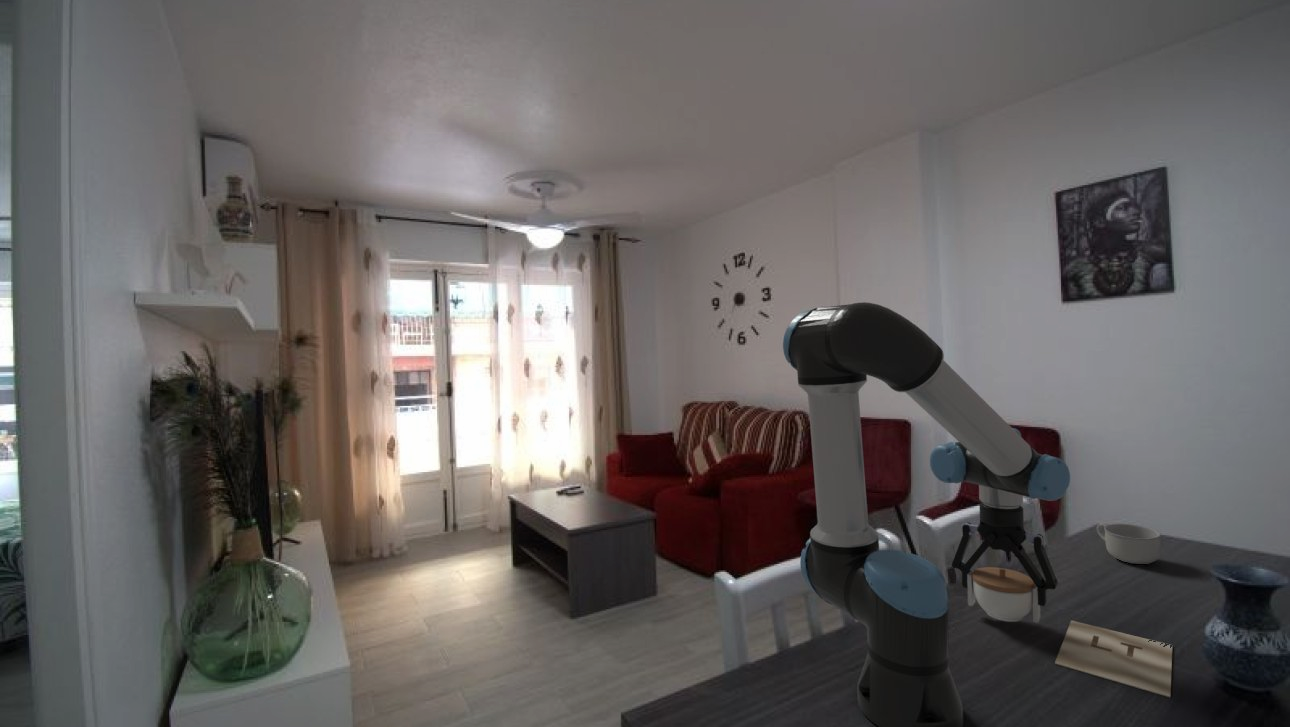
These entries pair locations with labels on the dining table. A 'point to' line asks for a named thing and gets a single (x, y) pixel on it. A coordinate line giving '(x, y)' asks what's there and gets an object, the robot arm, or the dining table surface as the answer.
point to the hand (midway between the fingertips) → (1003, 611)
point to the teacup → (1131, 542)
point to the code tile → (1117, 657)
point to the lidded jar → (1003, 593)
